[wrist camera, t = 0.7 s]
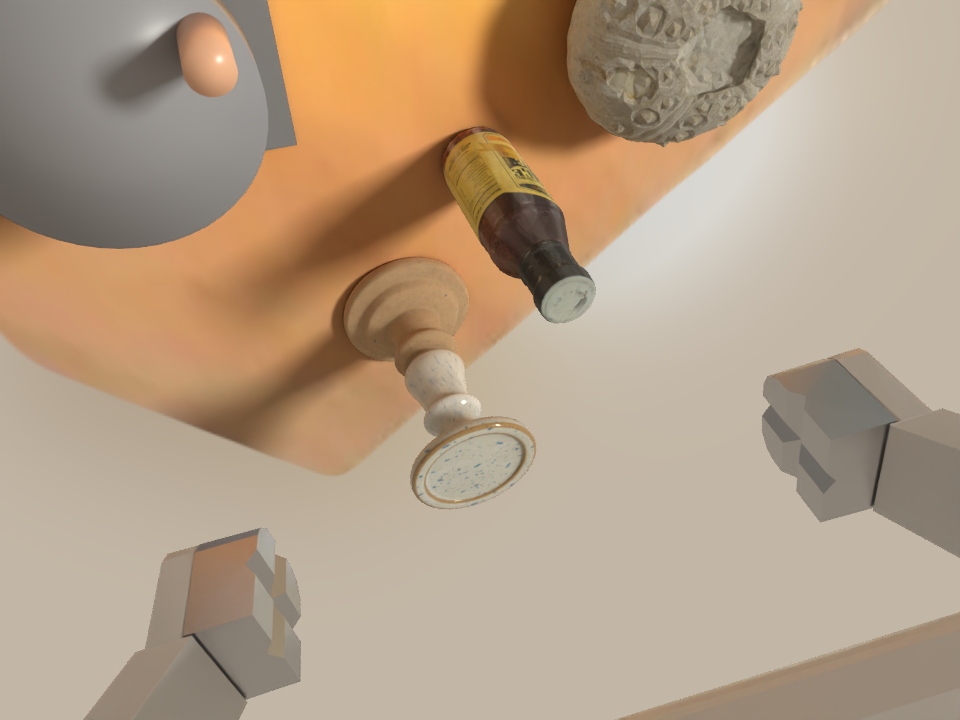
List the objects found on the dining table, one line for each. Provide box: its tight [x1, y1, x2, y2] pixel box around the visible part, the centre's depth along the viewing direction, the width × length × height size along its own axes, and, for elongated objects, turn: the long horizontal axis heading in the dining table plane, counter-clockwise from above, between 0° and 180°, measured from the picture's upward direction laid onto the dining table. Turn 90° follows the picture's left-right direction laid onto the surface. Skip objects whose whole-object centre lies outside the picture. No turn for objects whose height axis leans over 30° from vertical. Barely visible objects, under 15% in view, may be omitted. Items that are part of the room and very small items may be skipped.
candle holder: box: [343, 257, 536, 509], centre depth 63 cm, size 12×12×20 cm
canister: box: [221, 0, 297, 151], centre depth 42 cm, size 20×20×9 cm
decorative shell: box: [567, 0, 803, 147], centre depth 54 cm, size 18×18×10 cm
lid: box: [0, 0, 268, 249], centre depth 37 cm, size 16×16×7 cm
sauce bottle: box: [442, 127, 596, 323], centre depth 54 cm, size 7×6×20 cm
